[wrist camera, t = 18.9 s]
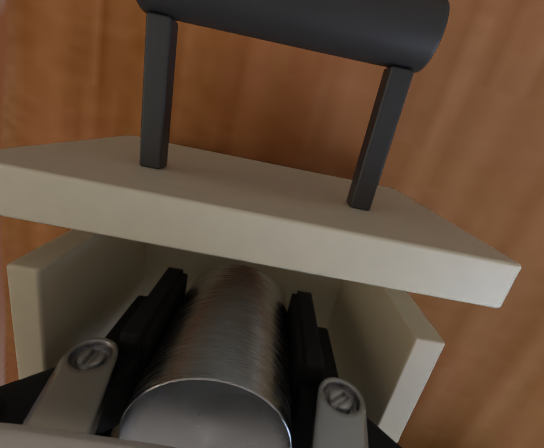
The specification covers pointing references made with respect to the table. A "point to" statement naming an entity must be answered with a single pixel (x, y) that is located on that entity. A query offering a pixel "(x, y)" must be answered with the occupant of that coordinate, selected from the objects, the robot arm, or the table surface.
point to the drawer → (252, 210)
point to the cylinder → (218, 369)
